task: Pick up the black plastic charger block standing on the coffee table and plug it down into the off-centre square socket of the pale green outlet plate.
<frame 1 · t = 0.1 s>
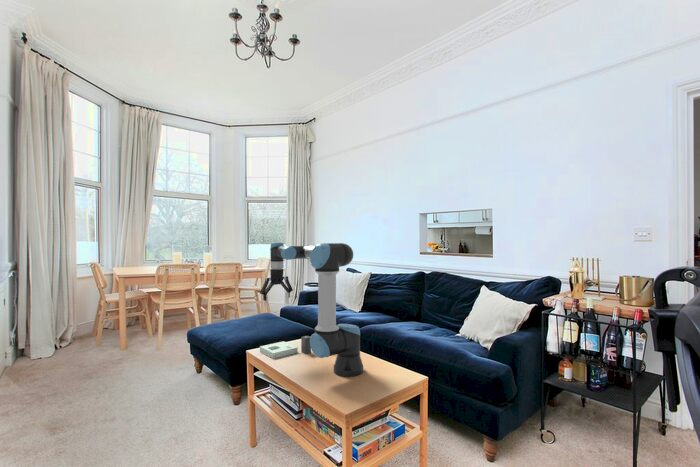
hand: (276, 304, 207), 28 cm above the table, fingers open, 13 cm apart
charger block: (306, 352, 207), on the table
ceramic mug: (337, 352, 208), on the table
outlet plate: (278, 352, 208), on the table
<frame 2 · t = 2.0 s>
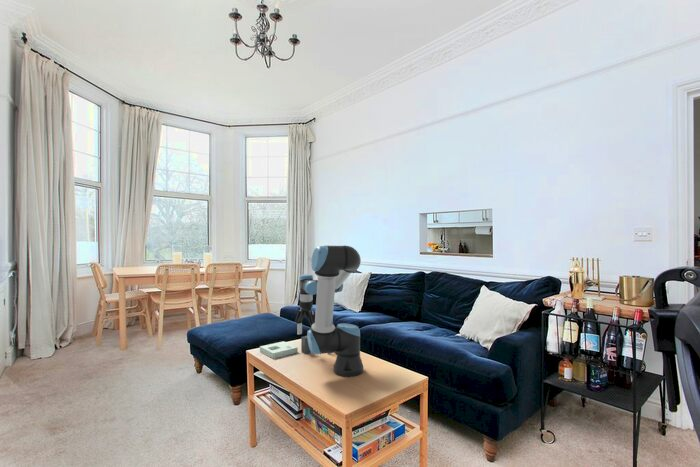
hand: (306, 336, 208), 9 cm above the table, fingers open, 13 cm apart
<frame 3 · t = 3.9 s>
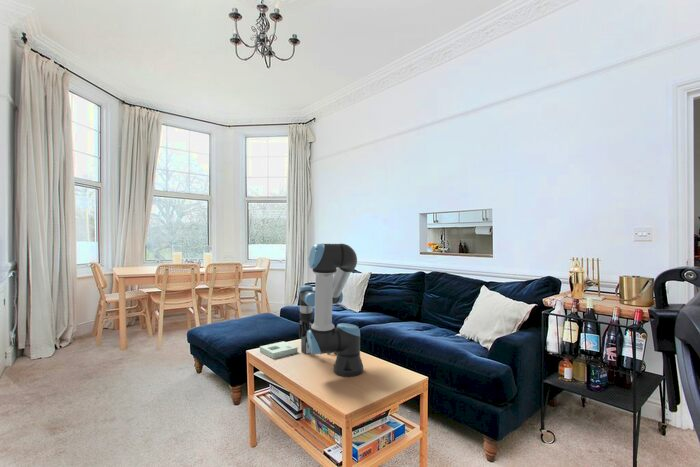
hand: (306, 351, 208), 0 cm above the table, fingers closed on charger block, 4 cm apart
charger block: (306, 352, 207), on the table, touching gripper
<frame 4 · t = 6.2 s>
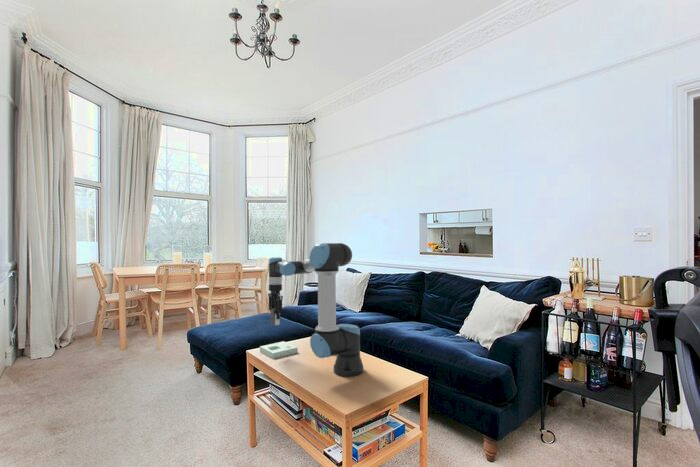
hand: (275, 323, 206), 17 cm above the table, fingers closed on charger block, 4 cm apart
charger block: (275, 324, 206), point 17 cm above the table, touching gripper
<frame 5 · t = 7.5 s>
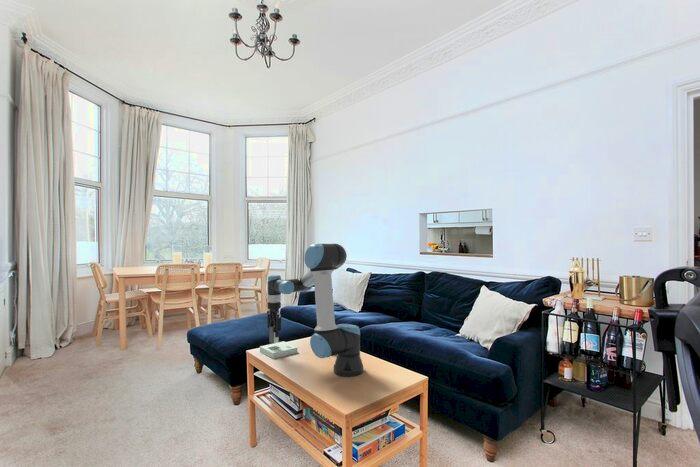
hand: (274, 341, 206), 7 cm above the table, fingers closed on charger block, 4 cm apart
charger block: (274, 342, 206), point 6 cm above the table, touching gripper
when the fingers open (4 cm above the table, at t = 8.4 s): charger block drops 3 cm, resting in outlet plate.
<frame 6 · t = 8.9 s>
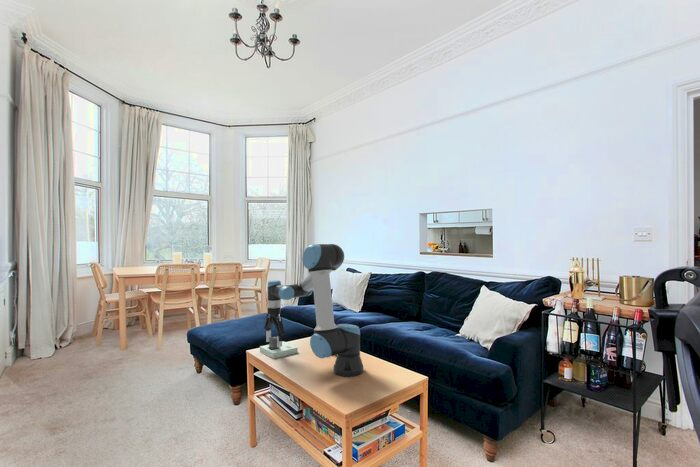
hand: (274, 344, 206), 5 cm above the table, fingers open, 12 cm apart
charger block: (274, 353, 206), resting in outlet plate
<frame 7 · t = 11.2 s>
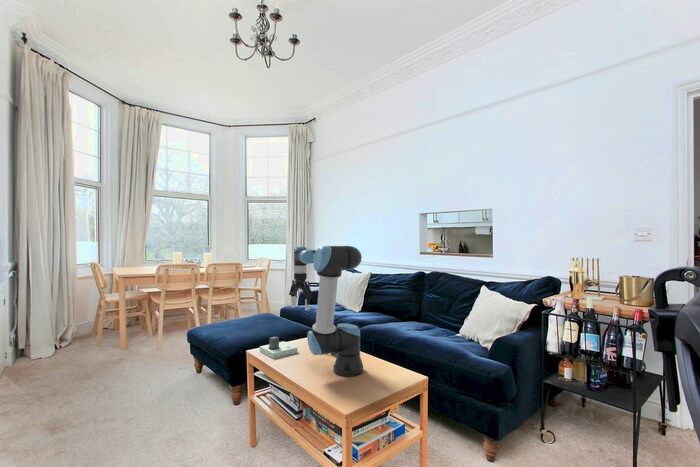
hand: (300, 308, 209), 25 cm above the table, fingers open, 13 cm apart
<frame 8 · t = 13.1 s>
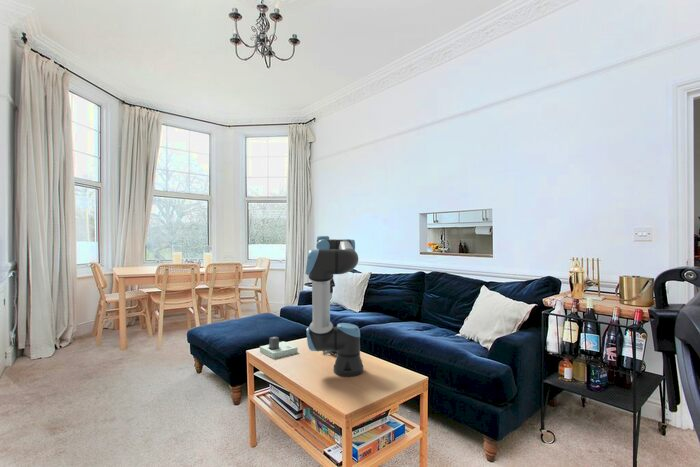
hand: (323, 297, 212), 32 cm above the table, fingers open, 13 cm apart
at the end: charger block 0.0 cm from the target spot on the outlet plate, point 0.0 cm above the outlet plate's base; charger block tilted 0°; the gripper is holding nothing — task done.
